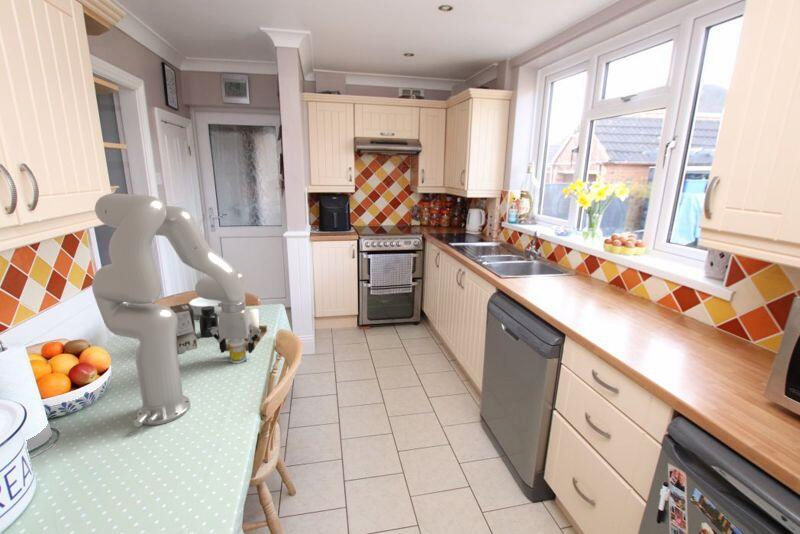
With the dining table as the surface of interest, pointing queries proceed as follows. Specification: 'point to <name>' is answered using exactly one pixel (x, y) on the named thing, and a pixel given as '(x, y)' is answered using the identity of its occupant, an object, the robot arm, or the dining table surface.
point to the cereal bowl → (204, 305)
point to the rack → (256, 341)
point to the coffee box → (185, 328)
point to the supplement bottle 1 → (208, 321)
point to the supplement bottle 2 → (237, 350)
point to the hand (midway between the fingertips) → (237, 351)
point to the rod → (254, 318)
